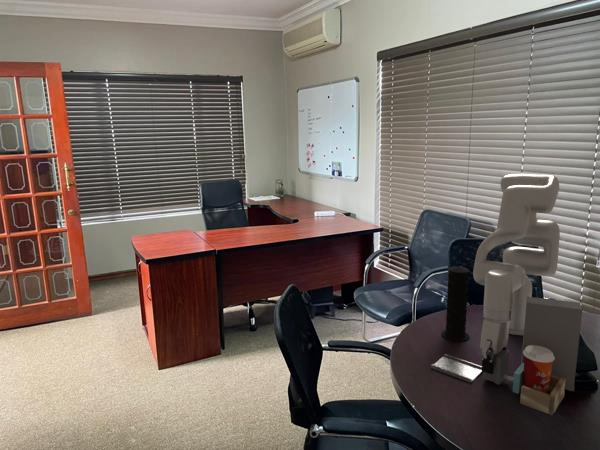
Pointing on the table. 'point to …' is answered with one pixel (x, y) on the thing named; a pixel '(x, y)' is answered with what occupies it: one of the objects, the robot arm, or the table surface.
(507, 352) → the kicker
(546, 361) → the paper cup
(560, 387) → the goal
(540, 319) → the cassette tape recorder
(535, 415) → the table surface
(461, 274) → the handle grip
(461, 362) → the track
